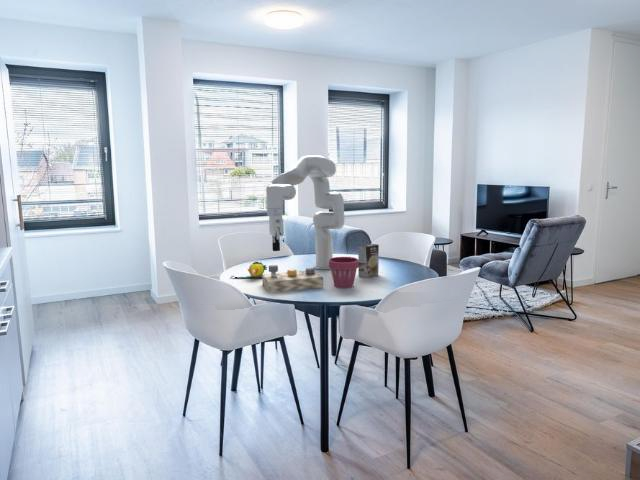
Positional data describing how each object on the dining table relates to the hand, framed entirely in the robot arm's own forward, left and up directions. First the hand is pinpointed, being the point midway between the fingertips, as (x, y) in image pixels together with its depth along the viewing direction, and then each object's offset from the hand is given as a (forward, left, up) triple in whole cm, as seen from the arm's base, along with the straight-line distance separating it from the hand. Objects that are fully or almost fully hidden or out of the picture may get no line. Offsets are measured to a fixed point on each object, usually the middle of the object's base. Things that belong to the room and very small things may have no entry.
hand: (276, 250), depth 224 cm
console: (-7, 0, -18) cm, 19 cm away
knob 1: (+2, 0, -13) cm, 13 cm away
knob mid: (-7, 0, -16) cm, 18 cm away
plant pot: (-30, +9, -18) cm, 36 cm away
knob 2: (-16, 0, -16) cm, 23 cm away
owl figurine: (+5, -26, -18) cm, 32 cm away
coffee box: (-49, -6, -18) cm, 53 cm away
